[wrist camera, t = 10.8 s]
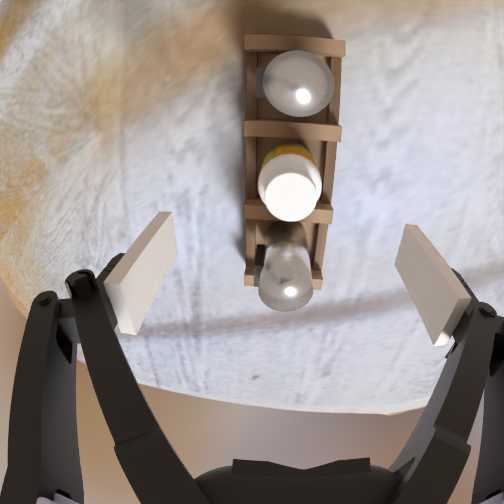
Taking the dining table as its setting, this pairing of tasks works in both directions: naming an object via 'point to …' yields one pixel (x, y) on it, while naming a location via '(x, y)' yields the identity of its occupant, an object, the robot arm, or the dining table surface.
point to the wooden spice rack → (290, 130)
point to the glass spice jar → (284, 267)
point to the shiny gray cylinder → (296, 83)
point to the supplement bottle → (289, 182)
